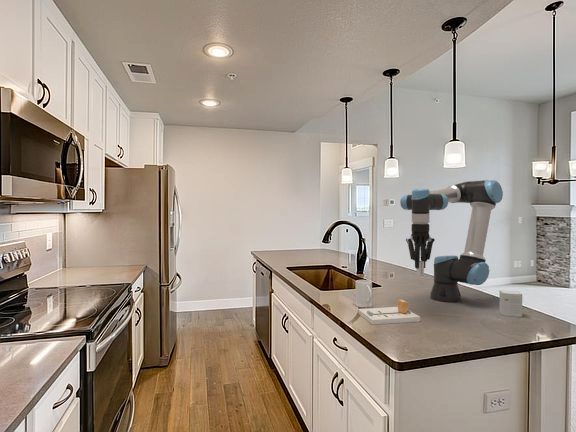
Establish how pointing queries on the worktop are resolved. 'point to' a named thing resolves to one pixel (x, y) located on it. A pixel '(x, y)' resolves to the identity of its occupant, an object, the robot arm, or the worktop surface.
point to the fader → (402, 306)
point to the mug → (363, 293)
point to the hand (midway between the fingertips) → (420, 275)
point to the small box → (510, 303)
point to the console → (387, 315)
